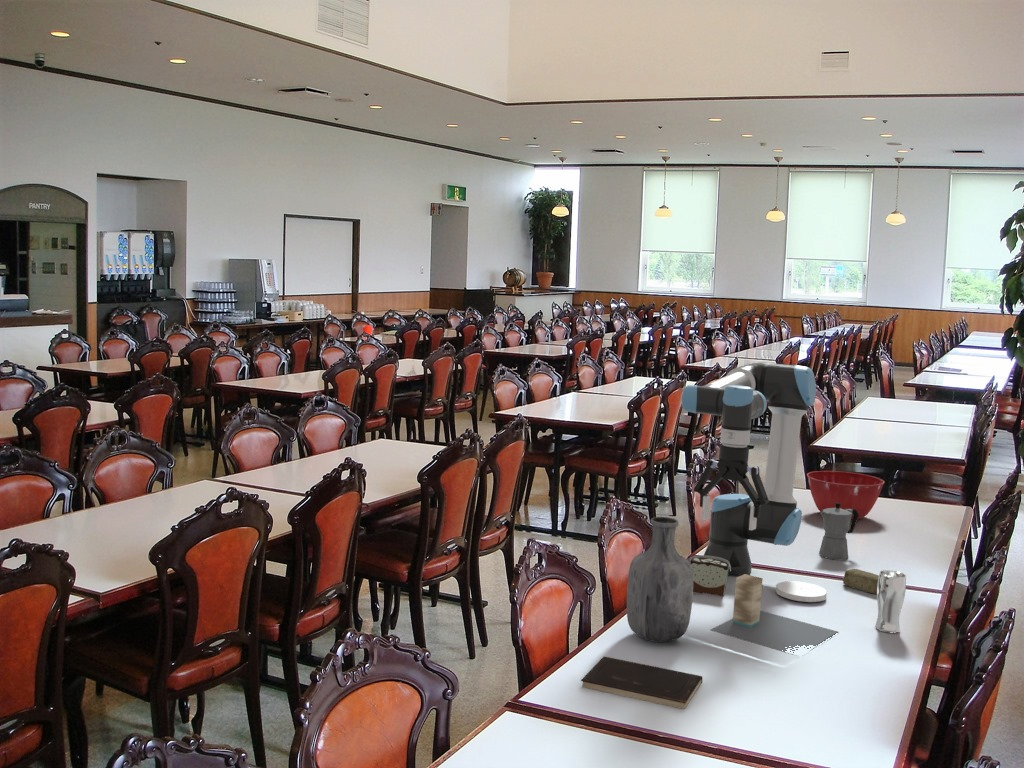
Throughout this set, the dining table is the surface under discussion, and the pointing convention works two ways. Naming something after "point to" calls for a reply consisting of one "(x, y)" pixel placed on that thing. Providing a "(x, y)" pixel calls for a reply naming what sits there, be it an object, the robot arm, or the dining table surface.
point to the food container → (709, 574)
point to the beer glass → (890, 599)
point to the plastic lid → (801, 591)
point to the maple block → (747, 600)
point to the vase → (660, 587)
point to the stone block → (861, 580)
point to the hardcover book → (642, 682)
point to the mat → (777, 632)
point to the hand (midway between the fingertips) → (728, 524)
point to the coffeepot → (837, 531)
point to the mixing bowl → (844, 490)
